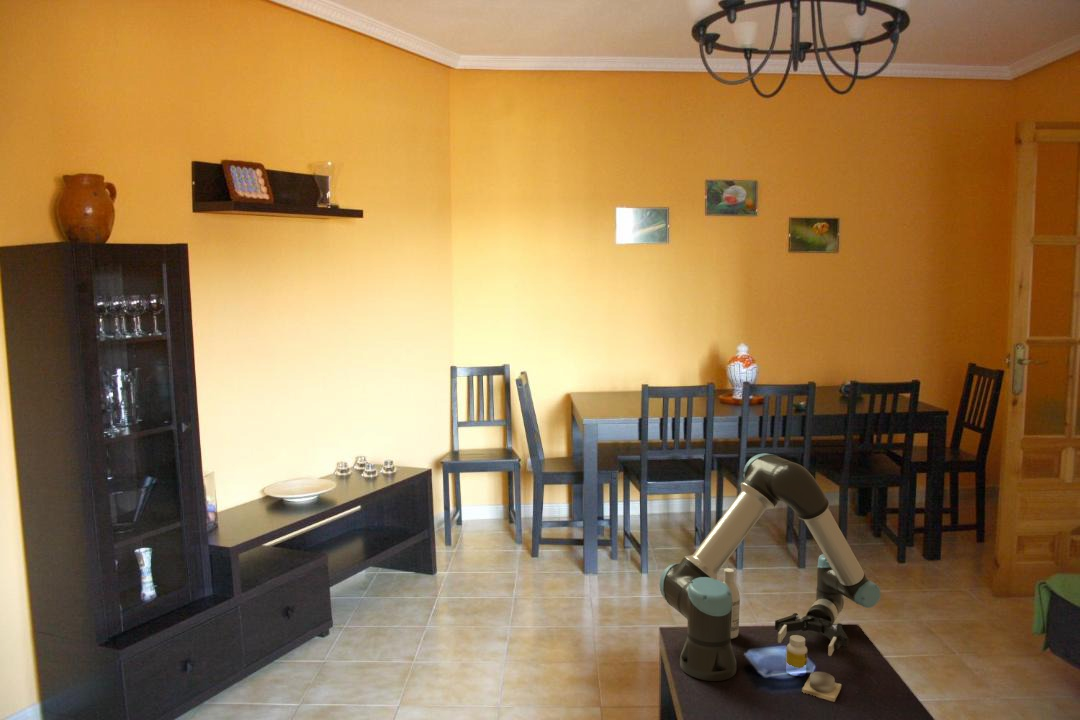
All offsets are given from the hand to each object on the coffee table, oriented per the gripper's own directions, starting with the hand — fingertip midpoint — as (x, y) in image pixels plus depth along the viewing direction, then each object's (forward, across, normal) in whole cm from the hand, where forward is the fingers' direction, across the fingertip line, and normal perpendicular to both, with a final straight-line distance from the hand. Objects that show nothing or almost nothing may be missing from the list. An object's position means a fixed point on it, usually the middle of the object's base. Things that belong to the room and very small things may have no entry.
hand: (803, 644), depth 212 cm
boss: (+11, -7, -6) cm, 15 cm away
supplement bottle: (+6, 0, -6) cm, 8 cm away
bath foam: (-6, +24, -6) cm, 25 cm away
